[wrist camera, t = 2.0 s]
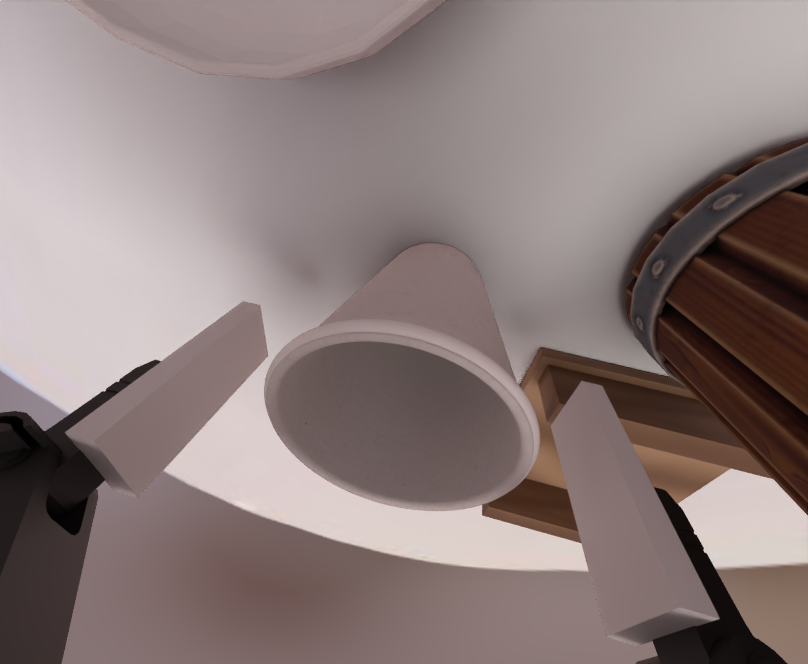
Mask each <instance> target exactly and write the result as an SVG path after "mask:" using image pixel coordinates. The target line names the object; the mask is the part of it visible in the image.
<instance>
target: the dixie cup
mask: <svg viewBox="0 0 808 664" xmlns="http://www.w3.org/2000/svg"><path fill="white" fill-rule="evenodd" d="M264 398H265V404H266V409H267V412H268V415H269V418H270V420H271V423H272V425H273V427H274V429H275V431H276V432H277V434H278V436H279V437H280V439H281V440H282V442H283V443H284V444H285V445H286V447H287V448H288V449H289V450H290V451H291V452H292V453H293V454H294V455H295V456H296V457H297V458H298V459H299V460H300V461H301V462H302V463H303V464H304V465H306V466H307V467H308V468H309V469H311V470H312V471H313V472H315V473H316V474H318V475H319V476H321V477H322V478H324V479H326V480H327V481H329V482H331V483H332V484H334V485H336V486H338V487H340V488H342V489H344V490H346V491H348V492H351V493H353V494H355V495H358V496H360V497H363V498H366V499H369V500H372V501H375V502H378V503H382V504H386V505H390V506H395V507H400V508H405V509H413V510H423V511H450V510H460V509H466V508H471V507H475V506H479V505H482V504H485V503H488V502H491V501H493V500H495V499H497V498H499V497H501V496H503V495H505V494H506V493H508V492H509V491H511V490H512V489H514V488H515V487H516V486H517V485H519V484H520V483H521V482H522V481H523V480H524V479H525V477H526V476H527V475H528V474H529V472H530V471H531V469H532V467H533V466H534V464H535V461H536V459H537V456H538V452H539V446H540V430H539V424H538V420H537V417H536V414H535V411H534V409H533V407H532V405H531V403H530V401H529V399H528V397H527V396H526V394H525V393H524V391H523V390H522V388H521V387H520V386H519V385H518V383H517V382H516V379H515V376H514V373H513V370H512V367H511V365H510V362H509V359H508V356H507V353H506V350H505V347H504V344H503V341H502V338H501V335H500V332H499V329H498V326H497V323H496V320H495V317H494V314H493V311H492V308H491V305H490V302H489V299H488V296H487V293H486V290H485V287H484V284H483V281H482V278H481V276H480V273H479V271H478V269H477V267H476V266H475V264H474V263H473V262H472V261H471V260H470V259H469V258H468V257H467V256H466V255H465V254H464V253H462V252H461V251H459V250H457V249H455V248H453V247H451V246H448V245H444V244H439V243H424V244H419V245H415V246H412V247H410V248H408V249H406V250H404V251H403V252H401V253H400V254H399V255H398V256H396V257H395V258H394V259H393V260H392V261H391V262H390V263H389V264H388V265H386V266H385V267H384V268H383V269H382V270H381V271H380V272H379V273H378V274H376V275H375V276H374V277H373V278H372V279H371V280H370V281H369V282H368V283H366V284H365V285H364V286H363V287H362V288H361V289H360V290H359V291H358V292H356V293H355V294H354V295H353V296H352V297H351V298H350V299H349V300H348V301H346V302H345V303H344V304H343V305H342V306H341V307H340V308H339V309H337V310H336V311H335V312H334V313H333V314H332V315H331V316H330V317H329V318H327V319H326V320H325V321H324V322H323V323H322V324H321V325H320V326H319V327H317V328H314V329H312V330H309V331H307V332H305V333H303V334H301V335H299V336H298V337H296V338H295V339H293V340H292V341H291V342H289V343H288V344H287V345H286V346H285V347H284V348H283V349H282V350H281V351H280V352H279V353H278V354H277V355H276V357H275V358H274V360H273V361H272V363H271V365H270V367H269V370H268V372H267V375H266V379H265V386H264Z"/></svg>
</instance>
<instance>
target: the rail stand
mask: <svg viewBox="0 0 808 664" xmlns="http://www.w3.org/2000/svg"><path fill="white" fill-rule="evenodd" d="M581 381H584V382H589V383H593V384H597V385H601V386H603V388H604V390H605V392H606V394H607V396H608V398H609V400H610V402H611V404H612V406H613V408H614V410H615V412H616V414H617V416H618V418H619V420H620V422H621V424H622V426H623V428H624V430H625V432H626V434H627V436H628V438H629V440H630V442H631V444H632V446H633V448H634V450H635V452H636V454H637V456H638V458H639V460H640V462H641V464H642V466H643V468H644V470H645V471H646V473H647V475H648V477H649V479H650V481H651V483H652V485H653V487H656V488H660V489H664V490H666V491H667V492H668V494H669V495H670V496H671V497H672V498H673V499H674V500H675V502H676V503H677V504H678V503H679V502H681V501H682V500H684V499H685V498H687V497H688V496H690V495H691V494H693V493H694V492H696V491H697V490H699V489H700V488H702V487H703V486H705V485H706V484H708V483H709V482H711V481H712V480H714V479H715V478H717V477H718V476H720V475H721V474H723V473H724V472H726V471H728V470H729V469H731V468H732V469H736V470H740V471H744V472H747V473H751V474H755V475H759V476H763V477H767V478H771V479H773V478H772V477H771V476H770V475H769V474H768V473H767V472H766V471H765V470H764V469H763V468H762V466H761V465H760V464H759V463H758V462H757V461H756V460H755V459H754V458H753V457H752V456H751V455H750V454H749V453H748V452H747V451H746V450H745V449H744V447H743V446H742V445H741V444H740V443H739V442H738V441H737V440H736V439H735V438H734V437H733V436H732V435H731V434H730V433H729V432H728V431H727V430H726V428H725V427H724V426H723V425H722V424H721V423H720V422H719V421H718V420H717V419H716V418H715V417H714V416H713V415H712V414H711V413H710V412H709V410H708V409H707V408H706V407H705V406H704V405H703V404H702V403H701V402H700V401H699V400H698V399H697V398H696V397H695V396H694V395H693V394H692V393H691V391H690V390H689V389H688V388H687V387H686V386H684V385H683V384H681V383H680V382H678V381H676V380H675V379H673V378H670V377H666V376H662V375H657V374H653V373H649V372H644V371H640V370H636V369H631V368H627V367H623V366H619V365H614V364H610V363H606V362H601V361H597V360H593V359H588V358H584V357H580V356H575V355H571V354H567V353H562V352H558V351H554V350H550V349H545V348H540V350H539V351H538V353H537V355H536V357H535V359H534V361H533V363H532V364H531V366H530V368H529V370H528V372H527V374H526V376H525V377H524V379H523V381H522V383H521V385H520V387H521V388H522V390H523V391H524V393H525V394H526V396H527V397H528V399H529V401H530V403H531V405H532V407H533V409H534V411H535V414H536V417H537V420H538V424H539V430H540V446H539V452H538V456H537V459H536V461H535V464H534V466H533V467H532V469H531V471H530V472H529V474H528V475H527V476H526V477H525V479H524V480H523V481H522V482H521V483H520V484H519V485H517V486H516V487H515V488H514V489H512V490H511V491H509V492H508V493H506V494H505V495H503V496H501V497H499V498H497V499H495V500H493V501H491V502H488V503H485V504H482V515H483V516H486V517H490V518H494V519H497V520H501V521H504V522H508V523H511V524H515V525H518V526H522V527H526V528H529V529H533V530H536V531H540V532H543V533H547V534H551V535H554V536H558V537H561V538H565V539H568V540H572V541H576V542H579V543H581V539H580V536H579V532H578V528H577V524H576V520H575V516H574V513H573V509H572V505H571V501H570V497H569V494H568V490H567V486H566V482H565V478H564V475H563V471H562V467H561V463H560V459H559V455H558V452H557V448H556V444H555V440H554V436H553V433H552V429H551V425H552V423H553V422H554V420H555V419H556V417H557V416H558V414H559V413H560V412H561V410H562V409H563V407H564V406H565V404H566V403H567V401H568V400H569V398H570V397H571V396H572V394H573V393H574V391H575V390H576V388H577V387H578V385H579V384H580V382H581Z"/></svg>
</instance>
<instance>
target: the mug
mask: <svg viewBox="0 0 808 664" xmlns="http://www.w3.org/2000/svg"><path fill="white" fill-rule="evenodd" d="M631 273H633V274H634V275H635V277H634V279H633V280H632V282H631V283H630V285H629V286H628V288H627V295H626V308H627V313H628V318H629V321H630V322H631V323H632V325H633V328H634V332H635V336H636V338H637V339H638V340H639V342H640V343H641V344H642V345H643V347H644V348H645V349H646V350H647V352H648V353H649V354H650V355H651V356H652V358H653V359H654V360H655V361H656V362H657V363H658V364H659V365H660V366H661V367H662V368H663V369H664V371H665V372H666V373H667V374H668V375H669V376H670V377H672V378H673V379H675V380H676V381H678V382H680V383H681V384H683V385H684V386H686V387H687V388H688V389H689V390H690V391H691V393H692V394H693V395H694V396H695V397H696V398H697V399H698V400H699V401H700V402H701V403H702V404H703V405H704V406H705V407H706V408H707V409H708V410H709V412H710V413H711V414H712V415H713V416H714V417H715V418H716V419H717V420H718V421H719V422H720V423H721V424H722V425H723V426H724V427H725V428H726V430H727V431H728V432H729V433H730V434H731V435H732V436H733V437H734V438H735V439H736V440H737V441H738V442H739V443H740V444H741V445H742V446H743V447H744V449H745V450H746V451H747V452H748V453H749V454H750V455H751V456H752V457H753V458H754V459H755V460H756V461H757V462H758V463H759V464H760V465H761V466H762V468H763V469H764V470H765V471H766V472H767V473H768V474H769V475H770V476H771V477H772V478H773V479H774V480H775V481H776V482H777V483H778V484H779V485H780V487H781V488H782V489H783V490H784V491H785V492H786V493H787V494H788V495H789V496H790V497H791V498H792V499H793V500H794V501H795V502H796V503H797V505H798V506H799V507H800V508H801V509H802V510H803V511H804V512H805V513H806V514H807V515H808V138H807V139H804V140H800V141H796V142H793V143H790V144H787V145H785V146H782V147H780V148H777V149H775V150H773V151H770V152H768V153H765V154H763V155H760V156H758V157H755V158H754V159H753V160H751V161H750V162H749V163H748V164H746V165H745V166H744V167H742V168H741V169H740V170H738V171H737V172H736V173H734V174H724V175H723V176H721V177H720V178H718V179H717V180H715V181H714V182H712V183H711V184H709V185H708V186H706V187H705V188H703V189H702V190H700V191H699V192H697V193H696V194H695V195H694V196H693V197H691V198H690V199H689V200H688V201H687V202H686V203H684V204H683V205H682V206H681V207H680V208H679V209H677V210H676V211H675V212H674V213H673V214H672V215H671V217H670V219H669V221H668V223H667V224H666V225H665V226H664V227H662V228H661V229H660V230H658V231H657V232H655V233H654V235H653V236H652V238H651V239H650V241H649V242H648V243H647V245H646V246H645V248H644V249H643V251H642V252H641V254H640V256H639V258H638V260H637V262H636V264H635V266H634V268H633V270H632V272H631Z"/></svg>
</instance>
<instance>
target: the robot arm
mask: <svg viewBox="0 0 808 664" xmlns="http://www.w3.org/2000/svg"><path fill="white" fill-rule="evenodd" d="M267 357H268V351H267V345H266V338H265V332H264V326H263V319H262V313H261V307H260V305H257V304H253V303H248V302H244V301H243V302H241V303H240V304H239V305H237V306H236V307H235V308H233V309H232V310H231V311H229V312H228V313H226V314H225V315H224V316H222V317H221V318H220V319H218V320H217V321H216V322H214V323H213V324H211V325H210V326H209V327H207V328H206V329H205V330H203V331H202V332H201V333H199V334H198V335H197V336H195V337H194V338H192V339H191V340H190V341H188V342H187V343H186V344H184V345H183V346H182V347H180V348H179V349H178V350H176V351H175V352H173V353H172V354H171V355H169V356H168V357H167V358H165V359H164V360H163V361H158V360H154V361H151V362H149V363H147V364H144V365H142V366H140V367H137V368H135V369H134V370H132V371H131V372H130V373H128V374H127V375H125V376H124V377H122V378H121V379H120V381H119V382H115V383H114V384H112V385H111V386H110V387H108V388H107V389H106V391H105V392H103V391H102V392H101V393H100V394H98V395H97V396H95V397H94V398H92V399H91V400H90V401H88V402H87V403H85V404H84V405H82V406H81V407H80V408H78V409H77V410H75V411H74V412H72V413H71V414H70V415H68V416H67V417H65V418H64V419H63V420H61V421H60V422H58V423H57V424H55V425H54V426H53V427H51V428H50V429H48V430H46V431H43V430H42V429H41V428H40V427H39V426H38V424H37V423H36V422H35V421H34V420H33V419H32V418H31V417H30V416H29V415H28V414H27V413H24V412H17V411H12V412H4V413H0V664H61V663H62V659H63V654H64V650H65V645H66V641H67V636H68V632H69V627H70V622H71V618H72V613H73V609H74V604H75V600H76V595H77V591H78V586H79V582H80V577H81V573H82V568H83V563H84V559H85V554H86V549H87V545H88V541H89V536H90V532H91V527H92V523H93V518H94V514H95V509H96V505H97V500H98V491H97V489H96V488H97V487H98V486H99V485H100V484H101V483H103V481H106V482H107V483H108V484H109V486H110V487H111V488H112V489H113V490H114V491H116V492H120V493H123V494H126V495H130V496H133V497H137V498H138V497H139V496H140V495H141V494H142V493H143V492H144V490H145V489H147V487H148V486H149V485H150V484H151V483H152V482H153V481H154V480H155V479H156V478H157V477H158V475H159V474H160V473H161V472H162V471H163V470H164V469H165V468H166V467H167V466H168V465H169V463H170V462H171V461H172V460H173V459H174V458H175V457H176V456H177V455H178V454H179V453H180V451H181V450H182V449H183V448H184V447H185V446H186V445H187V444H188V443H189V442H190V441H191V439H192V438H193V437H194V436H195V435H196V434H197V433H198V432H199V431H200V430H201V429H202V427H203V426H204V425H205V424H206V423H207V422H208V421H209V420H210V419H211V418H212V417H213V415H214V414H215V413H216V412H217V411H218V410H219V409H220V408H221V407H222V406H223V405H224V403H225V402H226V401H227V400H228V399H229V398H230V397H231V396H232V395H233V394H234V393H235V391H236V390H237V389H238V388H239V387H240V386H241V385H242V384H243V383H244V382H245V381H246V379H247V378H248V377H249V376H250V375H251V374H252V373H253V372H254V371H255V370H256V369H257V367H258V366H259V365H260V364H261V363H262V362H263V361H264V360H265V359H266V358H267ZM551 429H552V433H553V436H554V440H555V444H556V448H557V452H558V455H559V459H560V463H561V467H562V471H563V475H564V478H565V482H566V486H567V490H568V494H569V497H570V501H571V505H572V509H573V513H574V516H575V520H576V524H577V528H578V532H579V536H580V539H581V543H582V547H583V551H584V555H585V558H586V562H587V566H588V570H589V574H590V577H591V581H592V585H593V589H594V593H595V596H596V600H597V604H598V608H599V612H600V615H601V619H602V623H603V627H604V631H605V635H606V637H609V638H612V639H616V640H619V641H622V642H626V643H629V644H632V645H636V646H639V645H641V644H645V643H647V642H651V641H653V643H654V646H655V649H656V652H657V654H658V656H656V657H653V658H649V659H645V660H642V661H638V662H637V663H636V664H787V663H786V662H785V661H784V660H783V659H782V658H781V657H780V656H779V655H778V654H777V653H776V652H775V651H774V650H772V649H771V648H770V647H768V646H767V645H765V644H764V643H763V642H761V641H760V640H759V639H756V638H754V636H753V635H752V633H751V632H750V630H749V628H748V627H747V626H746V624H745V622H744V620H743V618H742V617H741V615H740V613H739V611H738V610H737V608H736V606H735V604H734V602H733V600H732V599H731V597H730V595H729V593H728V591H727V590H726V588H725V586H724V584H723V582H722V581H721V579H720V577H719V575H718V573H717V571H716V570H715V568H714V566H713V564H712V562H711V560H710V559H709V557H708V555H707V553H704V551H703V549H704V548H703V546H702V544H701V542H700V541H699V539H698V537H697V535H695V534H694V530H693V528H692V526H691V524H690V522H689V521H688V519H687V517H686V515H685V513H684V512H683V510H682V509H681V507H680V506H679V505H678V504H677V503H676V502H675V500H674V499H673V498H672V497H671V496H670V495H669V494H668V492H667V491H666V490H664V489H660V488H656V487H653V485H652V483H651V481H650V479H649V477H648V475H647V473H646V471H645V470H644V468H643V466H642V464H641V462H640V460H639V458H638V456H637V454H636V452H635V450H634V448H633V446H632V444H631V442H630V440H629V438H628V436H627V434H626V432H625V430H624V428H623V426H622V424H621V422H620V420H619V418H618V416H617V414H616V412H615V410H614V408H613V406H612V404H611V402H610V400H609V398H608V396H607V394H606V392H605V390H604V388H603V386H601V385H597V384H593V383H589V382H584V381H581V382H580V384H579V385H578V387H577V388H576V390H575V391H574V393H573V394H572V396H571V397H570V398H569V400H568V401H567V403H566V404H565V406H564V407H563V409H562V410H561V412H560V413H559V414H558V416H557V417H556V419H555V420H554V422H553V423H552V425H551Z"/></svg>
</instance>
